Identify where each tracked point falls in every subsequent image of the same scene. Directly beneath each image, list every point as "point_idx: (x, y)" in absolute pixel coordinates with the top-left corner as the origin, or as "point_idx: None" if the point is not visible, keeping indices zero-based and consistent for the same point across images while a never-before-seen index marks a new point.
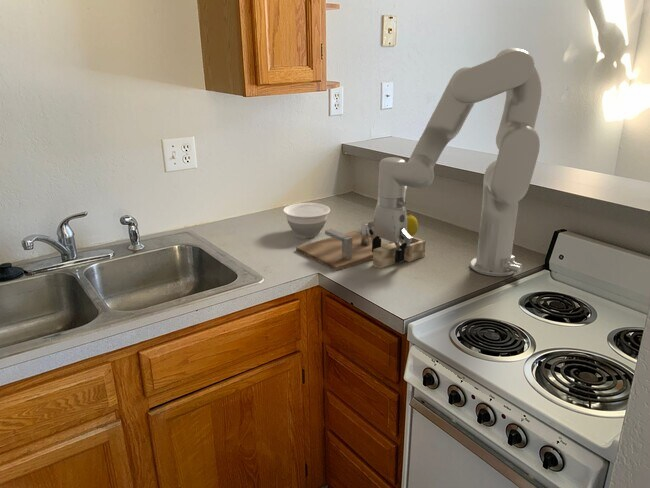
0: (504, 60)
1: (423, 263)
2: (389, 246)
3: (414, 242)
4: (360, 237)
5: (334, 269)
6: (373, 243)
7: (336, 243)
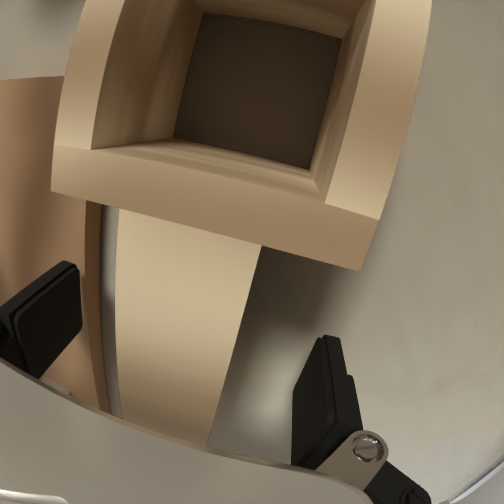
0: None
1: (439, 172)
2: (161, 386)
3: None
4: None
5: None
6: (40, 371)
7: None
